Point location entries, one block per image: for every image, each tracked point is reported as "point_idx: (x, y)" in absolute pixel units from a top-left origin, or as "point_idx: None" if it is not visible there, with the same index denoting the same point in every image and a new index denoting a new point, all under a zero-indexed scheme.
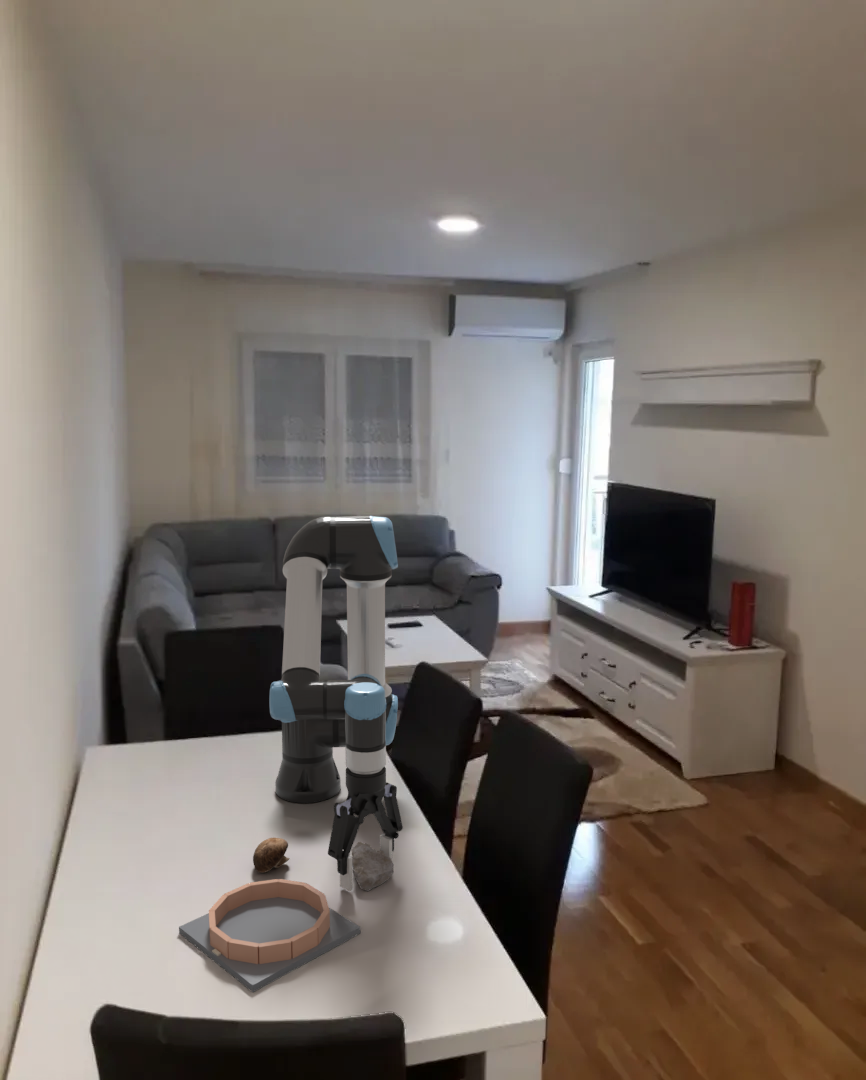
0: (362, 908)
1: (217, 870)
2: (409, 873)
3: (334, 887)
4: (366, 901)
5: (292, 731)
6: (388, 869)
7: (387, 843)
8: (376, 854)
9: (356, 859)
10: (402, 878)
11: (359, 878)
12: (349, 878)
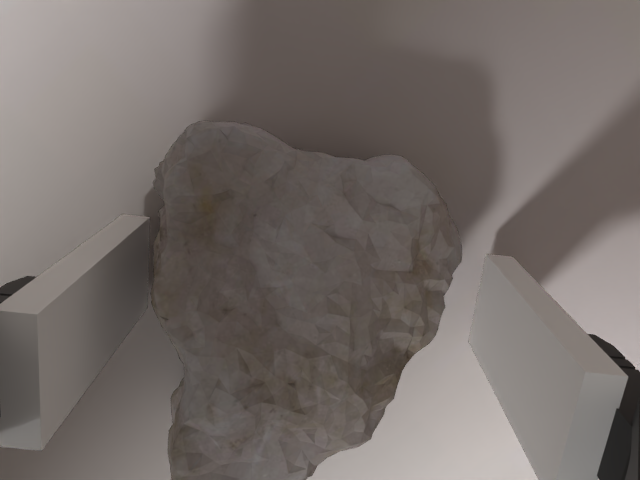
0: (592, 71)
1: None
2: (46, 113)
3: None
4: (507, 108)
5: None
6: (254, 131)
7: (59, 321)
8: (215, 317)
9: (373, 397)
10: (128, 108)
11: (454, 256)
12: (545, 291)
